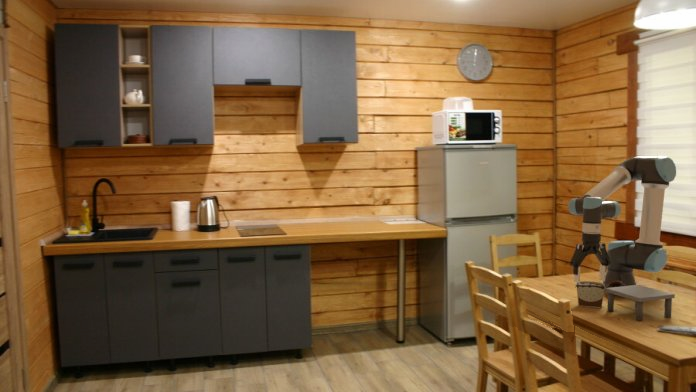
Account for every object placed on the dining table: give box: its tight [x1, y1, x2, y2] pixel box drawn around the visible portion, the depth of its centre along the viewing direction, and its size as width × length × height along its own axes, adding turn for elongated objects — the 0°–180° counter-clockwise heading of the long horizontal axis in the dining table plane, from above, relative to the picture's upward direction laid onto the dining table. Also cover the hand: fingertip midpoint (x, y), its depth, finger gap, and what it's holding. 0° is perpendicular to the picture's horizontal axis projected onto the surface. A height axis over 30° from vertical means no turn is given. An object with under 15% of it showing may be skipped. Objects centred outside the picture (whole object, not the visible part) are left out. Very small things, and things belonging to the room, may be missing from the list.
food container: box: [575, 280, 606, 309], centre depth 255 cm, size 12×6×10 cm, turn 71°
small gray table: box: [604, 284, 676, 322], centre depth 241 cm, size 18×18×10 cm
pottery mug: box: [606, 281, 626, 296], centre depth 271 cm, size 12×10×8 cm
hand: (589, 281), depth 254 cm, fingers open, 13 cm apart
